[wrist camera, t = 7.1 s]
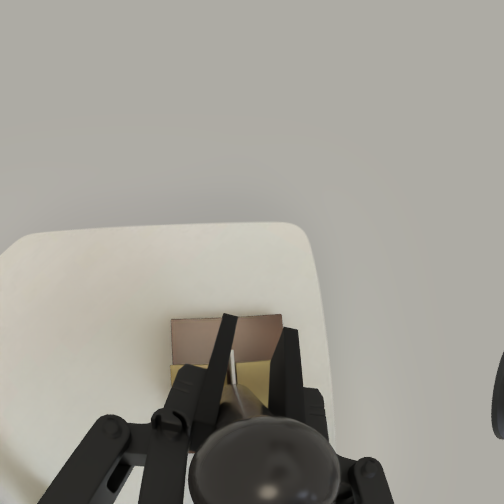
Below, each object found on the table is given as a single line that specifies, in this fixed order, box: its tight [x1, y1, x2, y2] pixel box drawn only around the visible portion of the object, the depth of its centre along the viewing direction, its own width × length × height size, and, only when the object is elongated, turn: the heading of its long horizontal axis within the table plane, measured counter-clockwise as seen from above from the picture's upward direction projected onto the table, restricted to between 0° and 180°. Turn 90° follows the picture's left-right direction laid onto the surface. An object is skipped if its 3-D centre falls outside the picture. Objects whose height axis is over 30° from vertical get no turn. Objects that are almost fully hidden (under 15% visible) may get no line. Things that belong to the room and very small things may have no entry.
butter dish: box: [170, 314, 283, 453], centre depth 22 cm, size 14×11×6 cm
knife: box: [188, 350, 341, 504], centre depth 11 cm, size 7×3×19 cm, turn 5°
